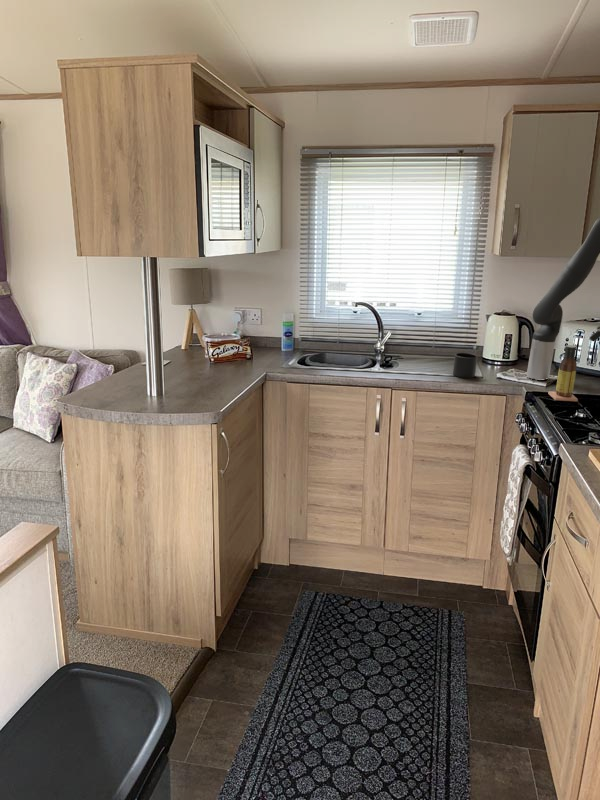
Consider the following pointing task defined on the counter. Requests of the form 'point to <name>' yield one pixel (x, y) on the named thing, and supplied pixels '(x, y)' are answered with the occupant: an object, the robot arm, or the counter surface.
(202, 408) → the counter surface
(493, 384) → the counter surface
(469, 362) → the mug
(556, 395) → the coaster
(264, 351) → the counter surface
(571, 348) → the sauce bottle
